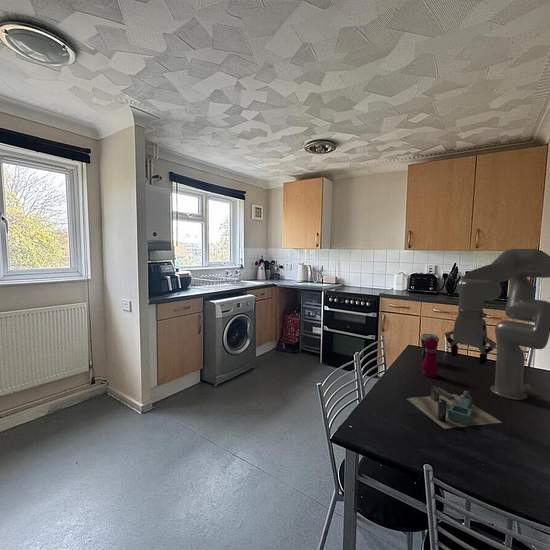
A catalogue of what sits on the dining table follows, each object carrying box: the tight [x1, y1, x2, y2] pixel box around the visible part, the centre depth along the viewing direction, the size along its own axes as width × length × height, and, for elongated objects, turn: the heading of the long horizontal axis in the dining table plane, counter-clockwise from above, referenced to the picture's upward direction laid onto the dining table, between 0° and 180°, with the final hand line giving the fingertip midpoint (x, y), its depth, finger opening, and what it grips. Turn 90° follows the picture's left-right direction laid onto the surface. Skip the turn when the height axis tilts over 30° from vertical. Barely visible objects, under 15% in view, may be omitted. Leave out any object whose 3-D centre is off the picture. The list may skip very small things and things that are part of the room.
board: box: [406, 384, 503, 430], centre depth 116 cm, size 23×22×7 cm
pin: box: [438, 399, 447, 422], centre depth 109 cm, size 3×3×7 cm
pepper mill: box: [421, 336, 439, 378], centre depth 152 cm, size 7×7×20 cm
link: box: [448, 390, 473, 425], centre depth 114 cm, size 18×6×5 cm, turn 140°
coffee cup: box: [419, 333, 440, 362], centre depth 171 cm, size 10×10×15 cm
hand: (468, 360), depth 113 cm, fingers open, 9 cm apart
